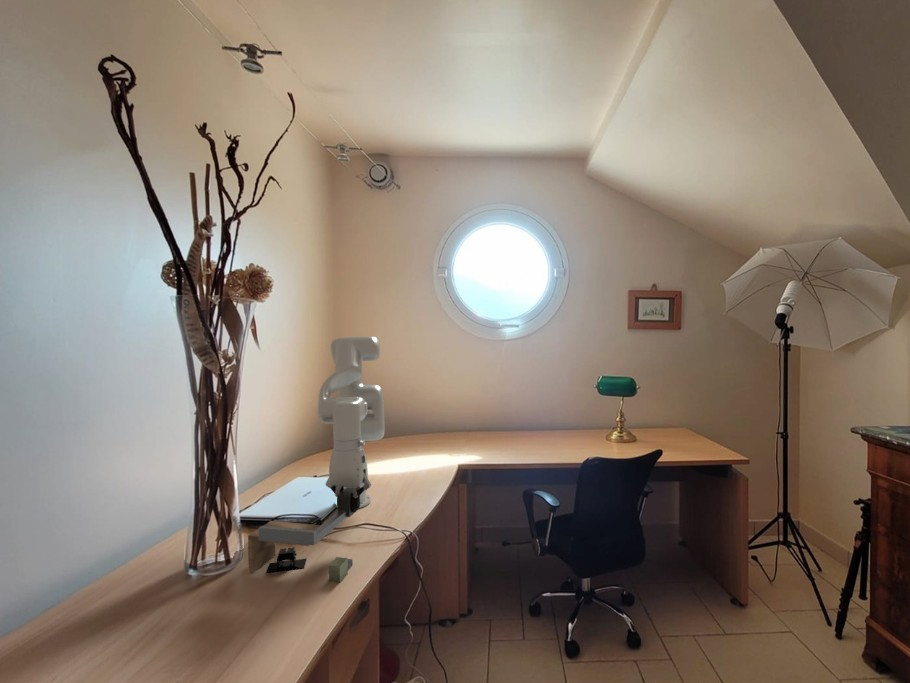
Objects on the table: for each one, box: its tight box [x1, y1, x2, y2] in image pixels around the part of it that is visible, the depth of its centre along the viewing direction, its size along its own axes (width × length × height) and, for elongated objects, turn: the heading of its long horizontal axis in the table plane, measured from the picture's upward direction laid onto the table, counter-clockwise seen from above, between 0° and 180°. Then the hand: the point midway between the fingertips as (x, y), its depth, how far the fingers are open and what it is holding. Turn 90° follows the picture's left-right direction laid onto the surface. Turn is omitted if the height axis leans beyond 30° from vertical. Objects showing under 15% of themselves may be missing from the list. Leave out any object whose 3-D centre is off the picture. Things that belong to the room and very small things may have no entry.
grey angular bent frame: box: [257, 487, 356, 546], centre depth 113 cm, size 23×16×6 cm
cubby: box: [247, 520, 322, 574], centre depth 110 cm, size 9×17×10 cm, turn 77°
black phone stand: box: [265, 546, 308, 575], centre depth 111 cm, size 12×7×5 cm, turn 103°
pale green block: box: [328, 556, 354, 584], centre depth 107 cm, size 8×3×4 cm, turn 167°
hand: (348, 509), depth 120 cm, fingers closed on grey angular bent frame, 3 cm apart
